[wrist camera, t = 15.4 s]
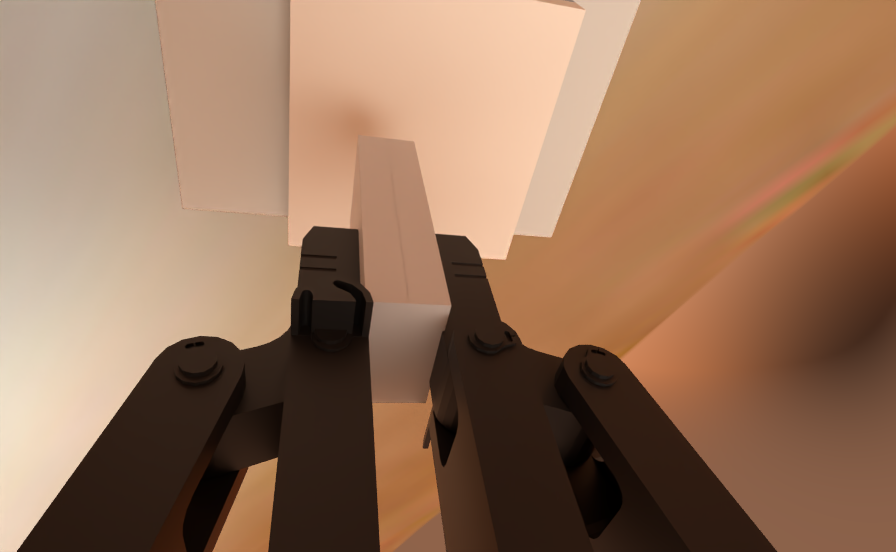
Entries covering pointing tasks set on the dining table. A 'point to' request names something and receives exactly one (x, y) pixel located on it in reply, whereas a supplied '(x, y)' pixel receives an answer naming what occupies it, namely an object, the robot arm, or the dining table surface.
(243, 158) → the mat
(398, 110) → the tile
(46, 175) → the dining table surface
